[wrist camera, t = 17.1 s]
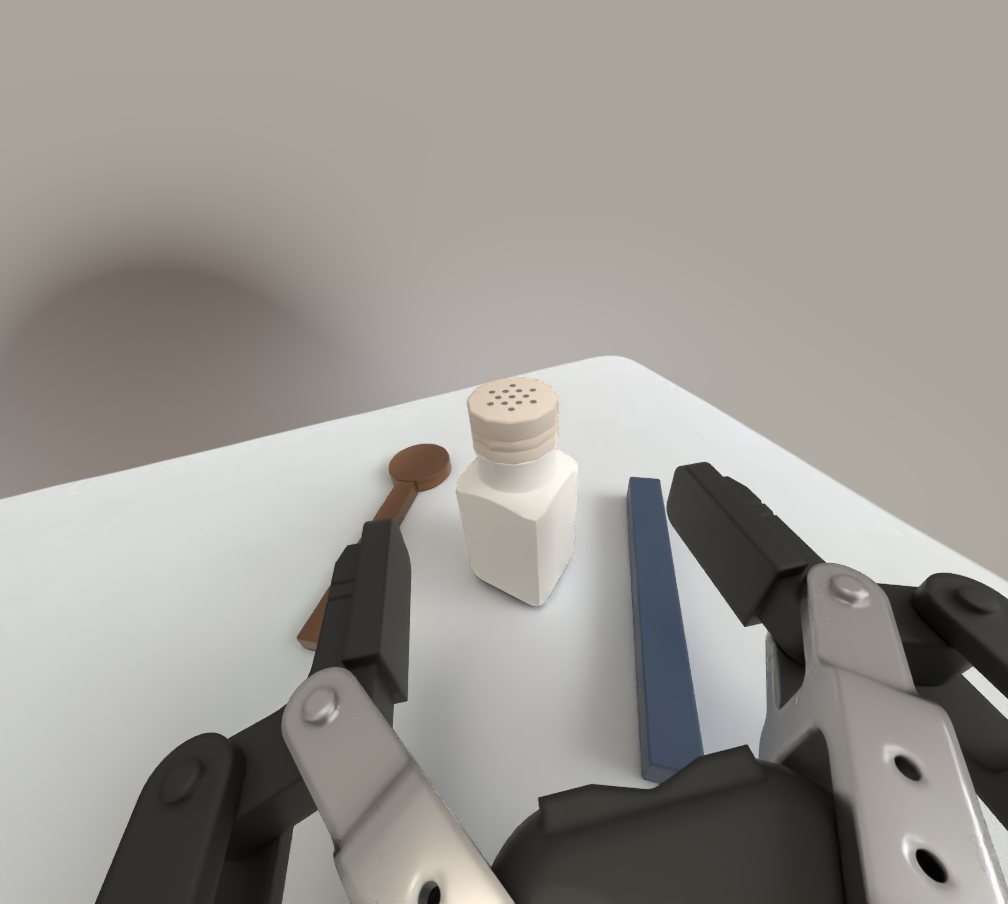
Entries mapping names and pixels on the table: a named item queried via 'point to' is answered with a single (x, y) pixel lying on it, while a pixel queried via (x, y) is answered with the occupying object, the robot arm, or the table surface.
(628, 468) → the table surface
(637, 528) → the blue stick
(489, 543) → the salt shaker
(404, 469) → the wooden spoon
